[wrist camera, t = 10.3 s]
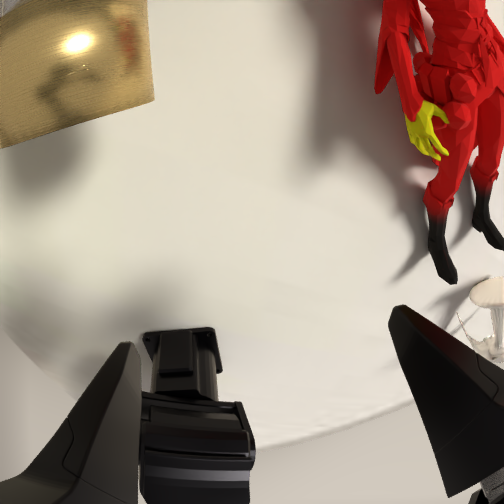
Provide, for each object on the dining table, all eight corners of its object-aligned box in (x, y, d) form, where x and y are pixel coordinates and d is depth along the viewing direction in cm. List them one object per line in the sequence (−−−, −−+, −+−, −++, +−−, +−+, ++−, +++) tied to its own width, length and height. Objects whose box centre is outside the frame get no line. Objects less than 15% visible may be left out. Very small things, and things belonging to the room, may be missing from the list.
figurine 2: (449, 287, 31) (453, 354, 32) (516, 315, 19) (508, 396, 20) (492, 266, 31) (494, 331, 32) (558, 284, 19) (550, 362, 20)
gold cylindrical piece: (165, 94, 11) (133, 112, 6) (44, 122, 11) (-35, 164, 6) (157, -63, 7) (130, -129, 2) (35, -24, 6) (-41, -47, 2)
